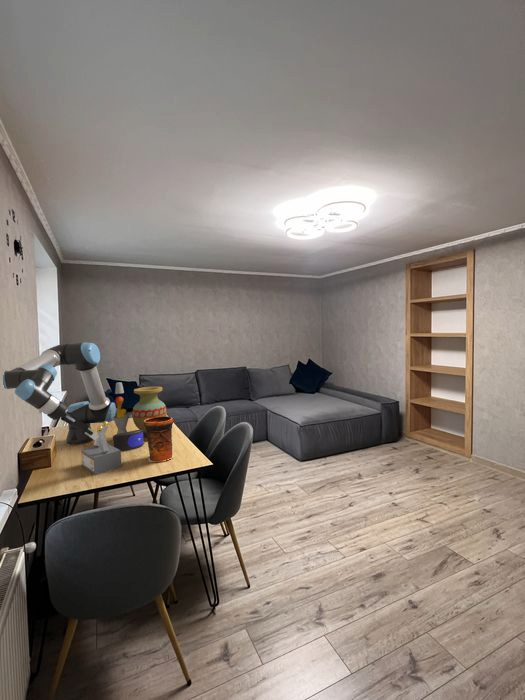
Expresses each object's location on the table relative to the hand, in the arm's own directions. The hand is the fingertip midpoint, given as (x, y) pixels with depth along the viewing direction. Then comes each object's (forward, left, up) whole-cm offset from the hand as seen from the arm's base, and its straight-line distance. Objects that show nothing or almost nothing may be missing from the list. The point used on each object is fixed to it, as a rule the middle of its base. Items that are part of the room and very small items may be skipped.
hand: (96, 437), depth 157 cm
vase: (-29, +42, -16) cm, 54 cm away
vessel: (+7, +28, -16) cm, 33 cm away
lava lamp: (-37, +28, -16) cm, 49 cm away
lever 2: (0, +4, -8) cm, 9 cm away
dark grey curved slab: (-21, +24, -16) cm, 36 cm away
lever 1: (-12, +4, -8) cm, 15 cm away
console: (-6, +4, -16) cm, 18 cm away
